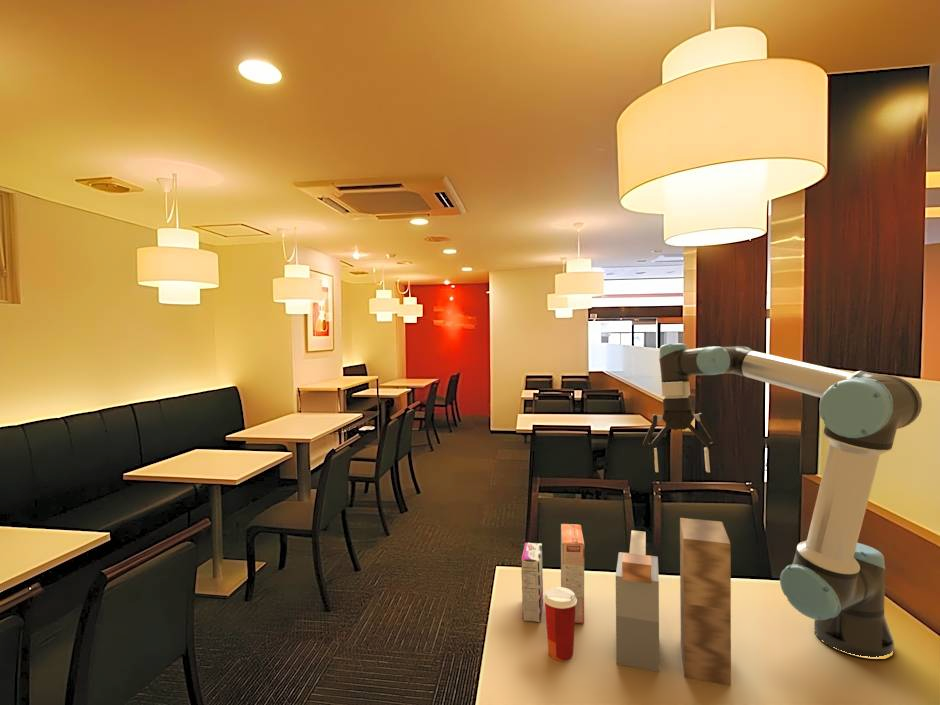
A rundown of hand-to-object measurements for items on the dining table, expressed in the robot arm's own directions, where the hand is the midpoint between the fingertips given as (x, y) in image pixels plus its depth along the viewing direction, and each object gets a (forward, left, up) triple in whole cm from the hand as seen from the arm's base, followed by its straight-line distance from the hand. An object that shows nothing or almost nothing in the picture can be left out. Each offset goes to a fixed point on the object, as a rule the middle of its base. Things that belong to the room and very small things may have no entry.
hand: (682, 471), depth 145 cm
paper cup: (+29, +41, -34) cm, 60 cm away
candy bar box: (+39, +25, -34) cm, 57 cm away
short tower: (+12, +34, -34) cm, 50 cm away
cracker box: (+29, +21, -34) cm, 49 cm away
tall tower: (-2, +34, -34) cm, 48 cm away
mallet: (+12, +31, -14) cm, 36 cm away
